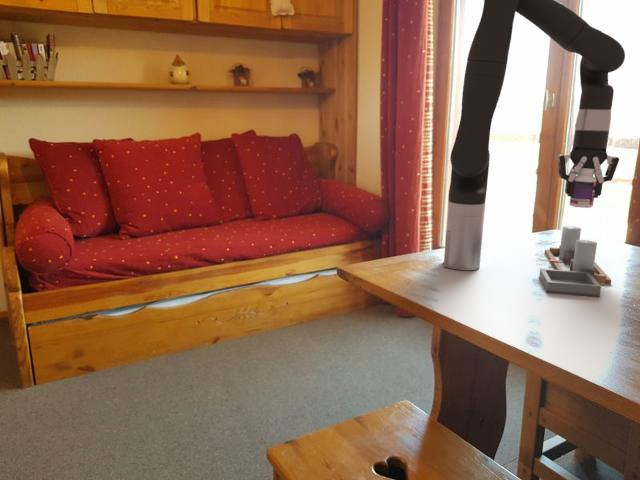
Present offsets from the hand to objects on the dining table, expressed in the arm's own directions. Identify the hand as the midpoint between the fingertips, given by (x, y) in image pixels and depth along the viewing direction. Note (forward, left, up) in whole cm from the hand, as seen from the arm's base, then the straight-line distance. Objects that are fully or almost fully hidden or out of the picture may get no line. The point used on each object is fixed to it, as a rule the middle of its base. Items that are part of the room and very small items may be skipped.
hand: (582, 196), depth 131 cm
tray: (-4, -17, -19) cm, 26 cm away
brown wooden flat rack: (+1, +1, -19) cm, 19 cm away
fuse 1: (+1, +10, -19) cm, 22 cm away
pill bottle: (0, 0, -3) cm, 3 cm away
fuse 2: (+1, -7, -19) cm, 20 cm away
